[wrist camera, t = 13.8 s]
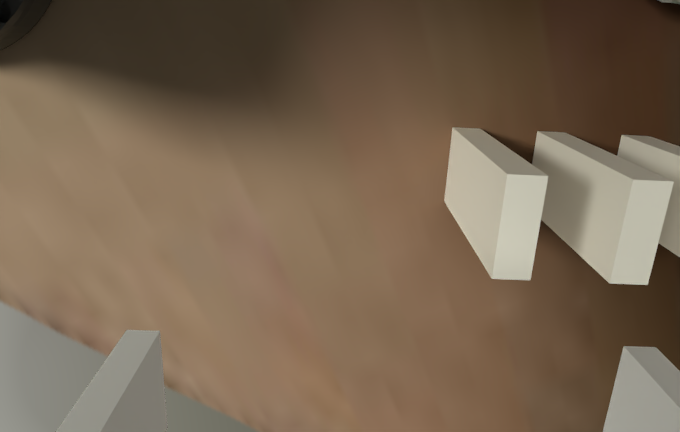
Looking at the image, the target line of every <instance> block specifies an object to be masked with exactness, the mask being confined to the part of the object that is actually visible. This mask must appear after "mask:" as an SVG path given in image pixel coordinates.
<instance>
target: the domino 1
mask: <svg viewBox="0 0 680 432" xmlns="http://www.w3.org/2000/svg"><path fill="white" fill-rule="evenodd" d="M547 182H548V175H546V174H545V173H543V172H542V171H541V170H539V169H538V168H536V167H535V166H533V165H532V164H531V163H529V162H528V161H526V160H525V159H523V158H522V157H520V156H519V155H518V154H516V153H515V152H513V151H512V150H510V149H509V148H507V147H506V146H505V145H503V144H502V143H500V142H499V141H497V140H496V139H495V138H493V137H492V136H490V135H489V134H487V133H486V132H484V131H483V130H482V129H478V128H455V127H453V128H452V137H451V146H450V155H449V163H448V172H447V181H446V190H445V199H444V202H445V203H446V205H447V207H448V208H449V210H450V212H451V213H452V215H453V216H454V218H455V220H456V221H457V223H458V225H459V226H460V228H461V229H462V231H463V233H464V234H465V236H466V238H467V239H468V241H469V243H470V244H471V246H472V247H473V249H474V251H475V252H476V254H477V256H478V257H479V259H480V260H481V262H482V264H483V265H484V267H485V269H486V270H487V272H488V273H489V275H490V277H491V278H492V279H510V280H530V279H531V274H532V268H533V262H534V256H535V251H536V245H537V239H538V234H539V228H540V222H541V216H542V211H543V205H544V199H545V194H546V188H547Z"/></svg>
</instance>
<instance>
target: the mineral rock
mask: <svg viewBox="0 0 680 432" xmlns="http://www.w3.org/2000/svg"><path fill="white" fill-rule="evenodd" d="M657 1H660V2H667V3H676V4H680V0H657Z"/></svg>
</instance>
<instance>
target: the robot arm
mask: <svg viewBox="0 0 680 432" xmlns="http://www.w3.org/2000/svg"><path fill="white" fill-rule="evenodd" d="M50 2H51V0H0V50H1V49H3V48H5V47H7V46H9V45H11V44H13V43H14V42H16V41H17V40H19V39H20V38H22V37H23V36H24V35H25V34H27V33H28V32H29V31H30V30H31V29H32V28H33V27H34V26H35V24H36V23H37V22H38V21H39V20H40V18H41V17H42V16H43V14H44V13H45V11H46V9H47V8H48V6H49V4H50ZM166 430H167V415H166V402H165V389H164V377H163V364H162V351H161V339H160V331H146V330H126V332H125V333H124V335H123V336H122V338H121V339H120V340H119V342H118V343H117V345H116V346H115V348H114V349H113V350H112V352H111V353H110V355H109V356H108V358H107V359H106V361H105V362H104V363H103V365H102V366H101V368H100V369H99V370H98V372H97V373H96V375H95V376H94V378H93V379H92V381H91V382H90V383H89V385H88V386H87V388H86V389H85V391H84V392H83V393H82V395H81V396H80V398H79V399H78V400H77V402H76V403H75V405H74V406H73V407H72V409H71V410H70V412H69V413H68V415H67V416H66V418H65V419H64V420H63V422H62V423H61V425H60V426H59V428H58V429H57V430H56V432H166ZM603 432H680V371H679V370H678V369H677V368H676V367H675V366H674V365H673V364H672V363H671V362H670V361H669V360H668V359H667V358H666V357H665V356H664V355H663V354H662V353H661V352H660V351H659V350H658V349H657V348H656V347H634V346H624V347H623V351H622V355H621V359H620V363H619V368H618V372H617V376H616V380H615V384H614V388H613V392H612V396H611V400H610V404H609V408H608V413H607V417H606V421H605V425H604V429H603Z"/></svg>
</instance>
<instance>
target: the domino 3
mask: <svg viewBox="0 0 680 432" xmlns="http://www.w3.org/2000/svg"><path fill="white" fill-rule="evenodd" d="M617 156H619V157H621V158H623V159H625V160H627V161H630V162H632V163H634V164H636V165H639V166H641V167H643V168H645V169H647V170H650V171H652V172H654V173H656V174H658V175H661V176H663V177H665V178H667V179H670V180H672V181H674V183H673V187H672V191H671V195H670V199H669V203H668V207H667V211H666V215H665V219H664V223H663V227H662V231H661V235H660V238H659V242H658V243H659V244H660V245H662V246H663V247H665V248H666V249H668V250H669V251H671V252H672V253H674V254H675V255H677V256H678V257H680V146H677V145H674V144H671V143H668V142H665V141H662V140H659V139H656V138H653V137H650V136H636V135H622V136H621V140H620V145H619V150H618V154H617Z"/></svg>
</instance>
